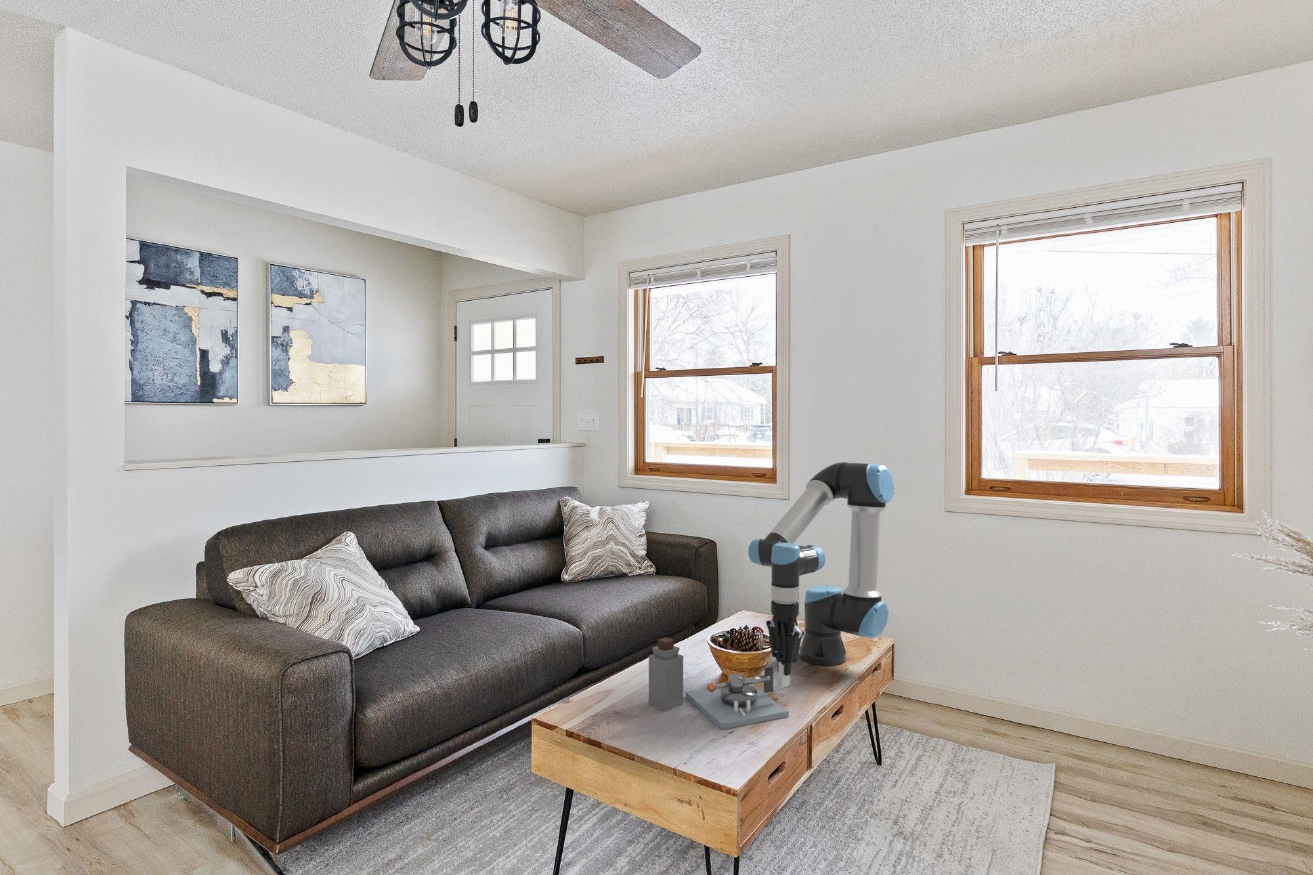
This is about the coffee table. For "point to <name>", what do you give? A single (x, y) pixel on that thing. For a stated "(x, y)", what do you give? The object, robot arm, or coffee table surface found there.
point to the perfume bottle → (666, 675)
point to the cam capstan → (743, 687)
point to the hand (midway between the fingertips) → (783, 685)
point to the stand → (736, 708)
